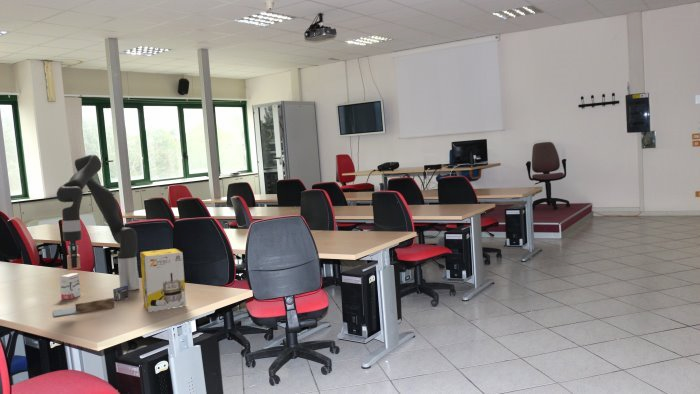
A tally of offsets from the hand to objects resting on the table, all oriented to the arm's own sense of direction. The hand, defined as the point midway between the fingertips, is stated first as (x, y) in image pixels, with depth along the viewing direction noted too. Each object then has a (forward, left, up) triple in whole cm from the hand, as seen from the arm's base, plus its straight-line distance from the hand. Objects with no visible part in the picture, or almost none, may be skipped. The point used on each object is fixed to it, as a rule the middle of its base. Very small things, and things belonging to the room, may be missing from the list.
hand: (73, 266), depth 256 cm
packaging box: (-35, +19, -20) cm, 45 cm away
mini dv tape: (-20, -10, -20) cm, 30 cm away
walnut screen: (-7, +4, -20) cm, 22 cm away
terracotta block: (0, 0, -1) cm, 1 cm away
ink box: (+1, -33, -20) cm, 38 cm away
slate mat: (+5, +1, -20) cm, 21 cm away
